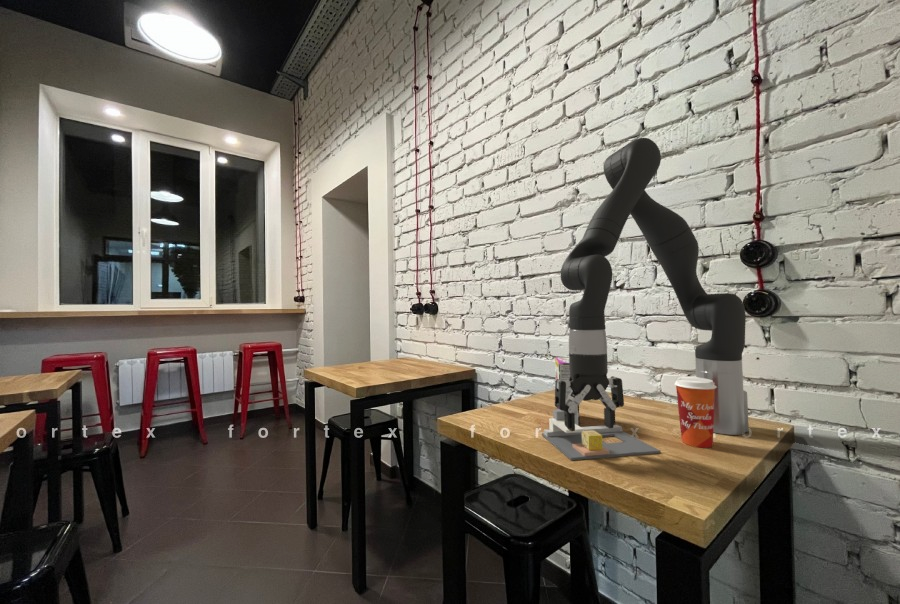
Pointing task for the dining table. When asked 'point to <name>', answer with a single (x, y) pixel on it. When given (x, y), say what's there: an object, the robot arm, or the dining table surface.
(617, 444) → the puzzle board
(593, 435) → the alphabet block
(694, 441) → the paper cup
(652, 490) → the dining table surface
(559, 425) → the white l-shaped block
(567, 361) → the candy bar box
